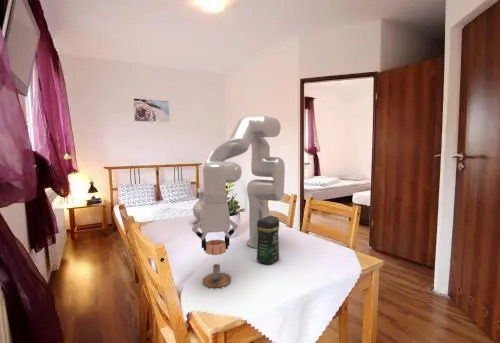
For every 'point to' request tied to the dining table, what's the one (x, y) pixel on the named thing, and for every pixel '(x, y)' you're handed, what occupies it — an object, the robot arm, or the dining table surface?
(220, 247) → the ring
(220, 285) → the post stand
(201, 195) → the ceramic pitcher
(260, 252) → the coffee jar
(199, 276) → the dining table surface
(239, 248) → the dining table surface
